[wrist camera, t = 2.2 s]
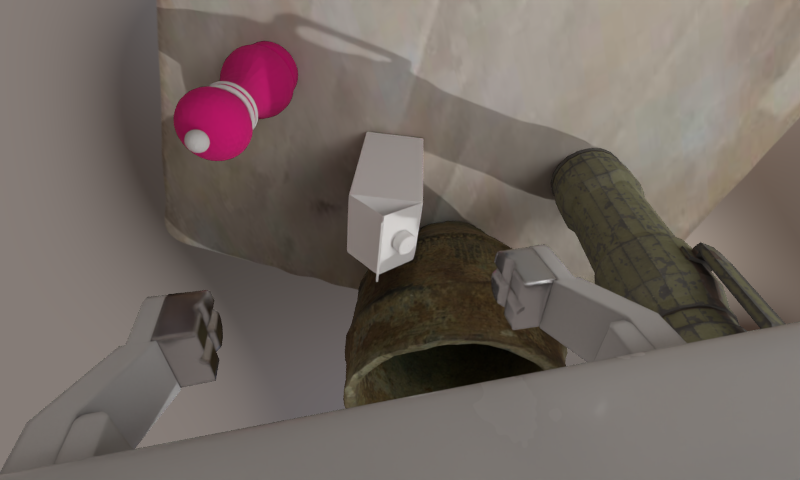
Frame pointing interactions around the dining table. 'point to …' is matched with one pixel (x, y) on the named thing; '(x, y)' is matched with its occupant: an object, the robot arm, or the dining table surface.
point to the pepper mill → (236, 101)
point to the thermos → (649, 251)
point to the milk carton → (386, 201)
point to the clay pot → (438, 323)
